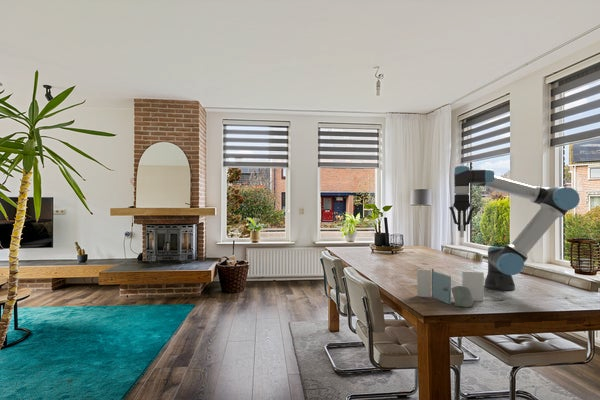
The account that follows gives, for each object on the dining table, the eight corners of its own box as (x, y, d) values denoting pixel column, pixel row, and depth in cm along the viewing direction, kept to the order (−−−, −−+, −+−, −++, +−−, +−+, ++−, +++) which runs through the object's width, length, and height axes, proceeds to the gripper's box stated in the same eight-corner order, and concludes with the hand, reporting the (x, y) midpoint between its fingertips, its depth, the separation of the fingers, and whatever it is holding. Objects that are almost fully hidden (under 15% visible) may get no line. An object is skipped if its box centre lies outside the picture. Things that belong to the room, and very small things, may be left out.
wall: (483, 300, 172) (483, 271, 172) (483, 301, 171) (483, 271, 171) (417, 295, 181) (417, 267, 181) (417, 296, 180) (417, 268, 180)
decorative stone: (468, 310, 156) (478, 291, 158) (445, 298, 162) (454, 279, 165) (468, 317, 166) (477, 299, 169) (446, 305, 172) (455, 287, 175)
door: (430, 297, 177) (430, 271, 177) (434, 296, 177) (434, 271, 177) (445, 304, 165) (445, 276, 165) (450, 303, 165) (450, 276, 165)
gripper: (473, 194, 193) (473, 236, 193) (448, 194, 196) (448, 236, 196) (476, 194, 185) (476, 238, 185) (449, 194, 189) (449, 237, 189)
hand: (461, 237), depth 191 cm, fingers closed
